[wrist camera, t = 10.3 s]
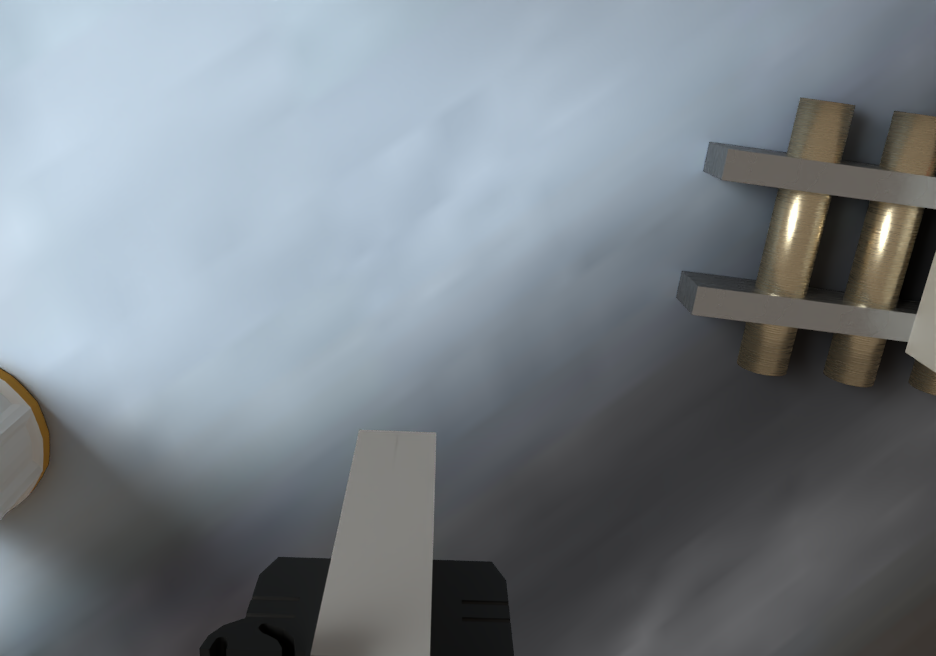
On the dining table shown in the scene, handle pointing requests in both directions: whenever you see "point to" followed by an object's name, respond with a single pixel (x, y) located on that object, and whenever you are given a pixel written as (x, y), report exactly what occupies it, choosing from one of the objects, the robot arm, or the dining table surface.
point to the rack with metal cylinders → (798, 237)
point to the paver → (925, 325)
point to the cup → (20, 443)
